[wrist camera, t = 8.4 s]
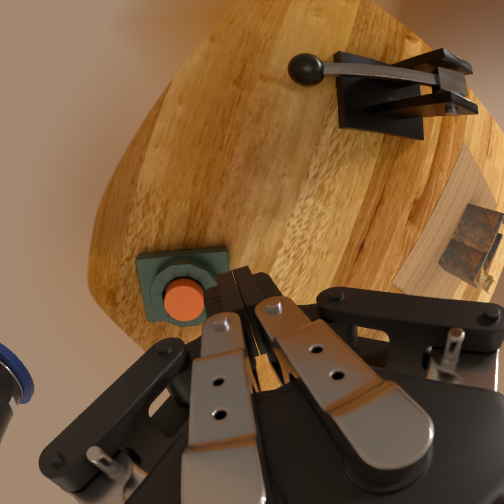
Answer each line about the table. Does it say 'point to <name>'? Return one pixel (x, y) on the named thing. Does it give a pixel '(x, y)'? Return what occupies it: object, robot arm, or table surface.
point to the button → (184, 299)
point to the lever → (373, 74)
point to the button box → (178, 277)
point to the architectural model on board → (455, 237)
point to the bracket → (398, 97)
